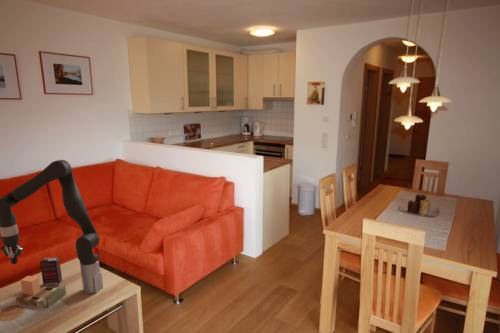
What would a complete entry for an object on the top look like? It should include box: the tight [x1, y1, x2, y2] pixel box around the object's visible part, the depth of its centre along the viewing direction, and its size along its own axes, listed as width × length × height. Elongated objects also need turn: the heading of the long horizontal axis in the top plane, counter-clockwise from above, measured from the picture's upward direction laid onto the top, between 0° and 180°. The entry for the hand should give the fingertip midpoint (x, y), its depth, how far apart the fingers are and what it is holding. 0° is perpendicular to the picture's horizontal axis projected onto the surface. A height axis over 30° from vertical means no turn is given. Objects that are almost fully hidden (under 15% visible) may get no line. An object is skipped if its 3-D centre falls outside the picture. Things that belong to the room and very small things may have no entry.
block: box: [20, 275, 41, 295], centre depth 173 cm, size 7×4×8 cm, turn 78°
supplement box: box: [39, 256, 63, 287], centre depth 185 cm, size 9×5×16 cm, turn 99°
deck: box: [15, 283, 67, 308], centre depth 173 cm, size 20×12×6 cm, turn 78°
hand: (14, 263), depth 173 cm, fingers closed
